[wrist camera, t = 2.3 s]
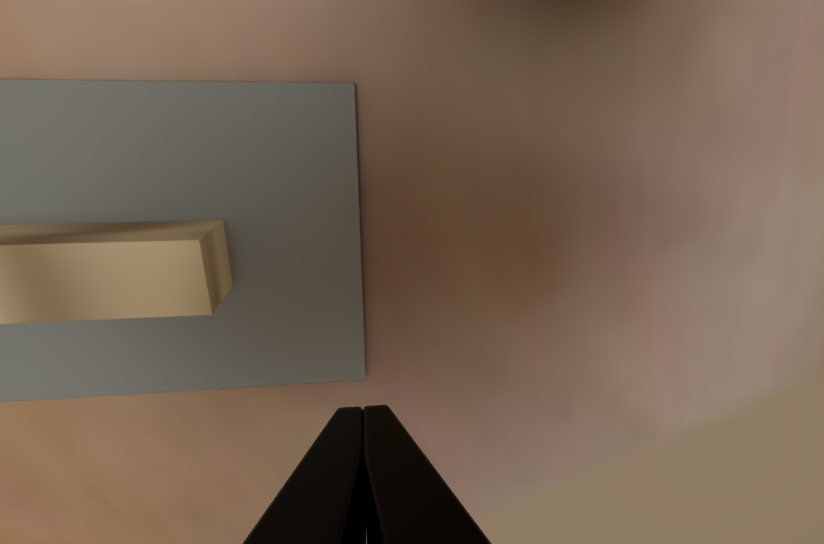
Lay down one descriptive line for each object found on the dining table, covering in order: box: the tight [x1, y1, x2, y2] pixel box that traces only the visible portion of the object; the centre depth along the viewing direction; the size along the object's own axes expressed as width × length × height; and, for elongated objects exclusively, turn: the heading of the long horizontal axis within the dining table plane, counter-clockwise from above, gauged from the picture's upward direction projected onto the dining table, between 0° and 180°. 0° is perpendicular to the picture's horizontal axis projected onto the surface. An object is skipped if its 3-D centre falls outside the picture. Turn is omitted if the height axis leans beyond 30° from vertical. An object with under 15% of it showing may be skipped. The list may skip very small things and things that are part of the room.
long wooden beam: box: [0, 220, 233, 324], centre depth 15 cm, size 9×3×3 cm, turn 90°
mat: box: [0, 79, 366, 402], centre depth 16 cm, size 20×12×1 cm, turn 90°
